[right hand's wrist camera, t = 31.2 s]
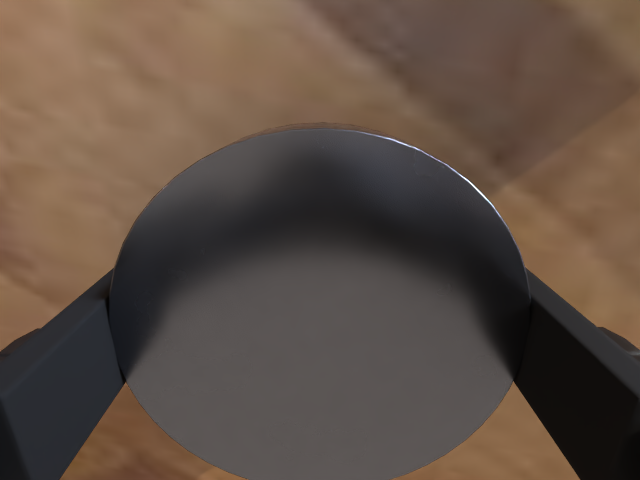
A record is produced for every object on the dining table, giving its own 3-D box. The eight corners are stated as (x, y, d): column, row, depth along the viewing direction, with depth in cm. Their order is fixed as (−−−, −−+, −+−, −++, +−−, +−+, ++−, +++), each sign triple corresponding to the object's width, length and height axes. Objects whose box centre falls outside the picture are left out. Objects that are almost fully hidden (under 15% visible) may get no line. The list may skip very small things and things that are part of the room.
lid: (445, 455, 14) (463, 507, 12) (142, 421, 14) (115, 470, 12) (552, 156, 10) (602, 168, 9) (137, 91, 10) (95, 89, 8)
